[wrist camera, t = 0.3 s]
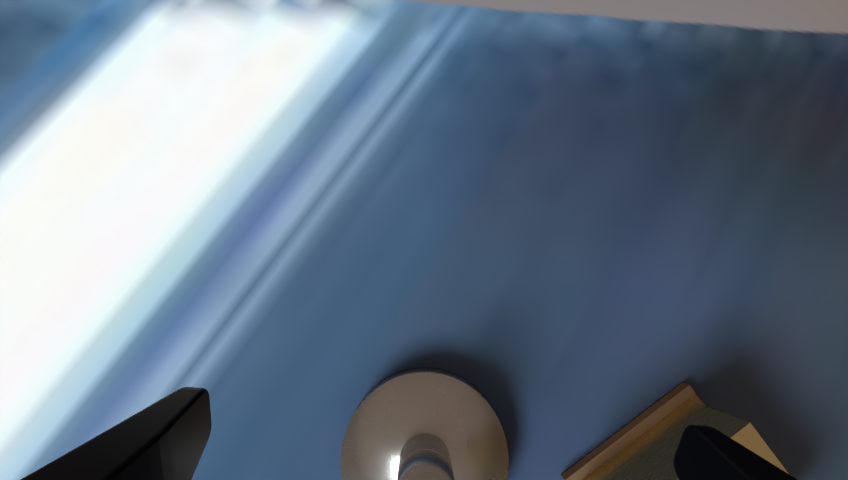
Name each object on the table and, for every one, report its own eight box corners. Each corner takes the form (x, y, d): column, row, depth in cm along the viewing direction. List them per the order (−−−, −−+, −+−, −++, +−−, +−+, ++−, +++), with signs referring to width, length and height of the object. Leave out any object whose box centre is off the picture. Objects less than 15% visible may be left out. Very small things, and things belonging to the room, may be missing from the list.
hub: (533, 469, 21) (578, 537, 15) (403, 568, 20) (397, 679, 15) (444, 337, 22) (453, 351, 16) (315, 427, 21) (276, 477, 15)
